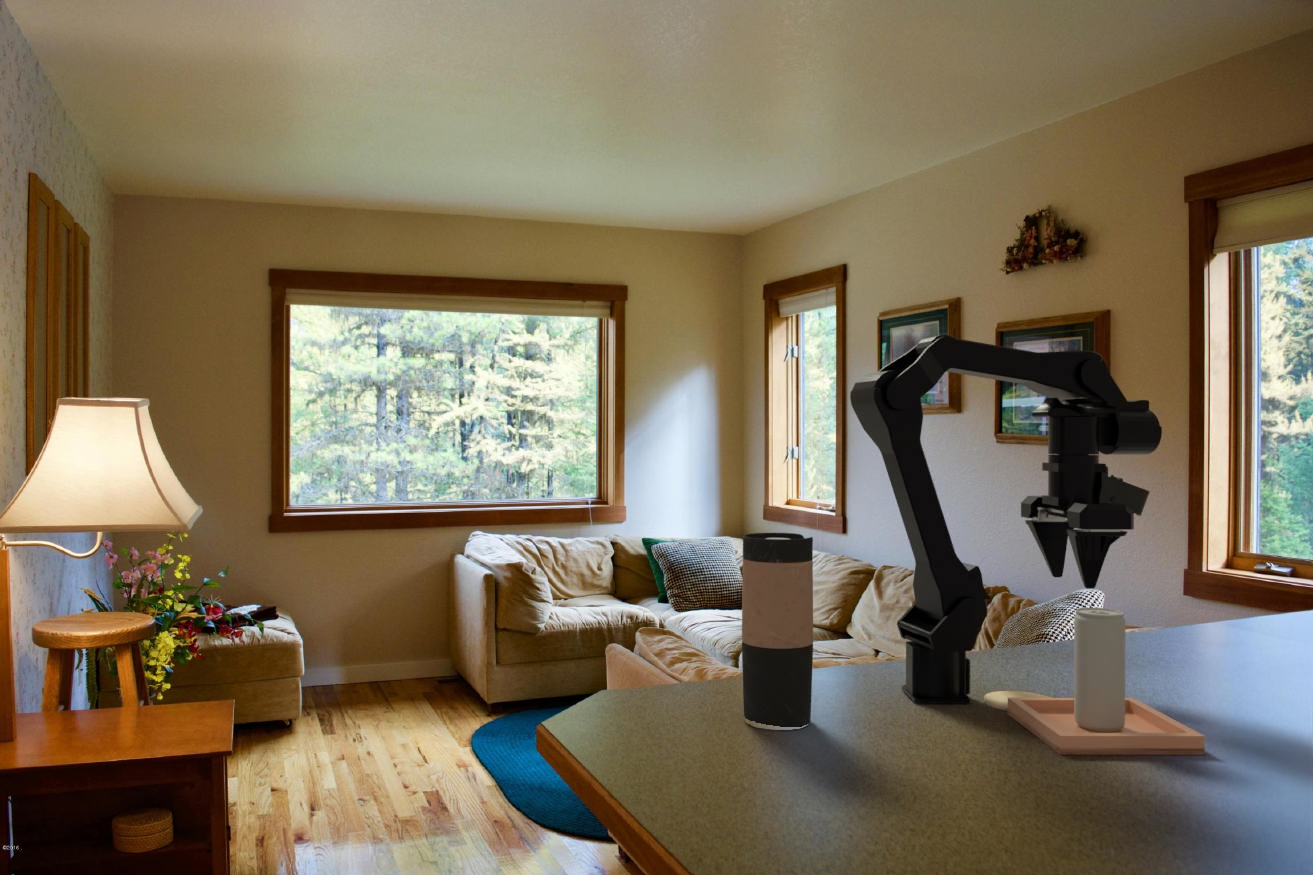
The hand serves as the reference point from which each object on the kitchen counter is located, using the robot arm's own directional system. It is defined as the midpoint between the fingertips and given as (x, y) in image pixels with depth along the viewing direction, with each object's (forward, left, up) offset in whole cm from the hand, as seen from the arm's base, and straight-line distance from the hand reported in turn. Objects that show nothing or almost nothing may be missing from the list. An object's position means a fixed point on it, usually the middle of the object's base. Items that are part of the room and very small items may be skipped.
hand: (1073, 582), depth 120 cm
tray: (-5, -18, -13) cm, 23 cm away
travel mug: (-38, -14, -13) cm, 43 cm away
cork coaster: (-9, -7, -13) cm, 17 cm away
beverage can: (-5, -18, -13) cm, 22 cm away
